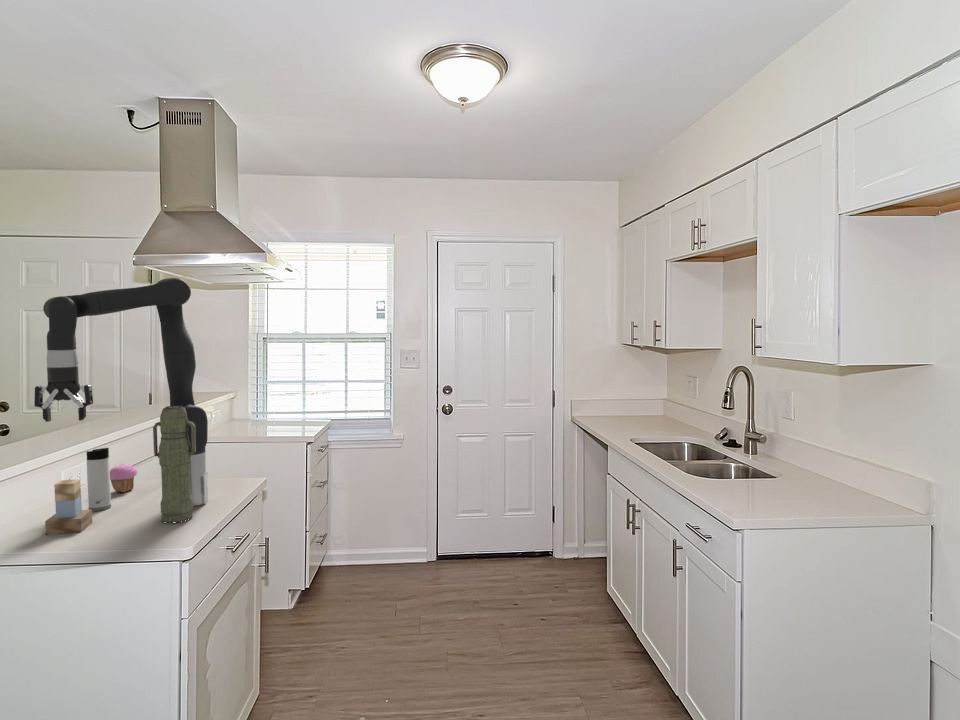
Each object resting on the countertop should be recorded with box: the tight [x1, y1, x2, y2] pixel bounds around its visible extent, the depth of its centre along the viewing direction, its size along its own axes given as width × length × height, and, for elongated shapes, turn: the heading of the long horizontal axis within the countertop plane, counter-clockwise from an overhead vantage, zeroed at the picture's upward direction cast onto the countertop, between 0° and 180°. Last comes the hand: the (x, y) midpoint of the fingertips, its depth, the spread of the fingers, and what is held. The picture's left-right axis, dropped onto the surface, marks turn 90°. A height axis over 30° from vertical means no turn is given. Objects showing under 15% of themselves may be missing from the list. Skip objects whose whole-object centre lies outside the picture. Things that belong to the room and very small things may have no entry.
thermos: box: [152, 405, 196, 524], centre depth 189 cm, size 9×12×35 cm
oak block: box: [53, 478, 82, 502], centre depth 181 cm, size 5×5×5 cm
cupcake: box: [110, 463, 138, 493], centre depth 221 cm, size 9×9×10 cm
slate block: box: [54, 495, 83, 518], centre depth 181 cm, size 5×5×5 cm
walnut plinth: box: [44, 509, 93, 535], centre depth 181 cm, size 9×9×4 cm
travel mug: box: [86, 447, 112, 512], centre depth 201 cm, size 6×7×20 cm
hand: (65, 420), depth 179 cm, fingers open, 8 cm apart
